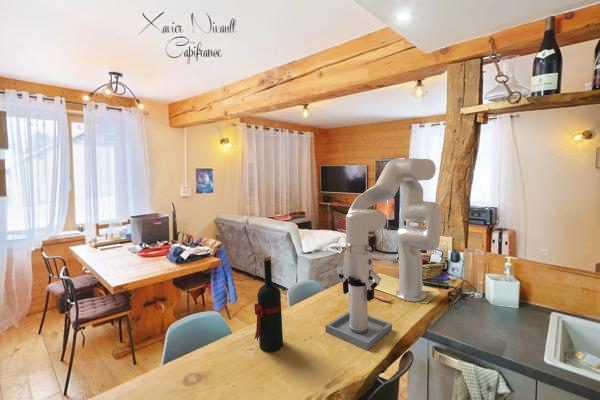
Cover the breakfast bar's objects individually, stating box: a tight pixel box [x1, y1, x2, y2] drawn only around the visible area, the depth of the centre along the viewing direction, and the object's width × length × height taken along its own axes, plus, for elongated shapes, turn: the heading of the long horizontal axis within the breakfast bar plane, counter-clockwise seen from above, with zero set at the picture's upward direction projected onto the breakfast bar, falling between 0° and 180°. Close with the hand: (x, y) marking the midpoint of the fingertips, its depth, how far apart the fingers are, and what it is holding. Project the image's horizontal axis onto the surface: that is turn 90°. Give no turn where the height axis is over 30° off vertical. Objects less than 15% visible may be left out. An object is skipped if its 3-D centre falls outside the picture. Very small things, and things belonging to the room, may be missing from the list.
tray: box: [324, 310, 393, 352], centre depth 106 cm, size 16×17×2 cm
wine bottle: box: [253, 254, 284, 353], centre depth 97 cm, size 8×10×30 cm
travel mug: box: [348, 276, 369, 333], centre depth 105 cm, size 6×7×20 cm
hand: (358, 296), depth 105 cm, fingers open, 9 cm apart
